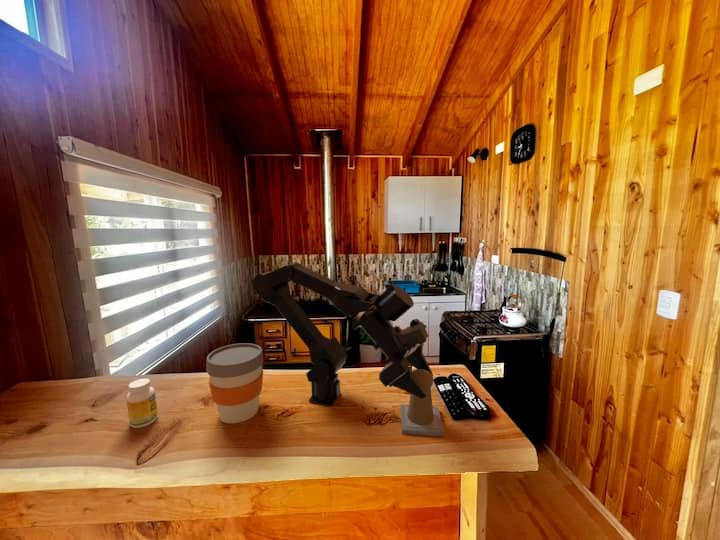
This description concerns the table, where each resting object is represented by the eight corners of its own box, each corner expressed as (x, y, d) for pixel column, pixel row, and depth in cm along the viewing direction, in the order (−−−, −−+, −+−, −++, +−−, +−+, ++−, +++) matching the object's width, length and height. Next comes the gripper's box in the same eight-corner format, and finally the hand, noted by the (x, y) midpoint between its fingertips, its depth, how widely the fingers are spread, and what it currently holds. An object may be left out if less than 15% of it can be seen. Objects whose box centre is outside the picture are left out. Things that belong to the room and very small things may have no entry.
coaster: (402, 433, 65) (402, 429, 65) (400, 408, 74) (400, 404, 74) (444, 436, 64) (444, 431, 64) (437, 410, 73) (437, 406, 73)
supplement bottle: (133, 417, 71) (127, 379, 69) (159, 411, 73) (155, 374, 71) (127, 431, 66) (121, 391, 64) (156, 424, 68) (151, 385, 67)
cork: (430, 428, 65) (432, 381, 63) (403, 420, 67) (404, 375, 66) (436, 412, 70) (438, 368, 68) (411, 405, 73) (412, 363, 71)
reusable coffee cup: (276, 410, 73) (273, 352, 71) (224, 437, 64) (218, 371, 62) (251, 390, 82) (247, 338, 79) (202, 412, 72) (196, 354, 70)
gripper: (395, 324, 58) (451, 389, 55) (415, 301, 75) (459, 350, 72) (357, 356, 62) (408, 417, 60) (385, 327, 79) (425, 374, 77)
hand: (428, 386), depth 67 cm, fingers open, 9 cm apart
